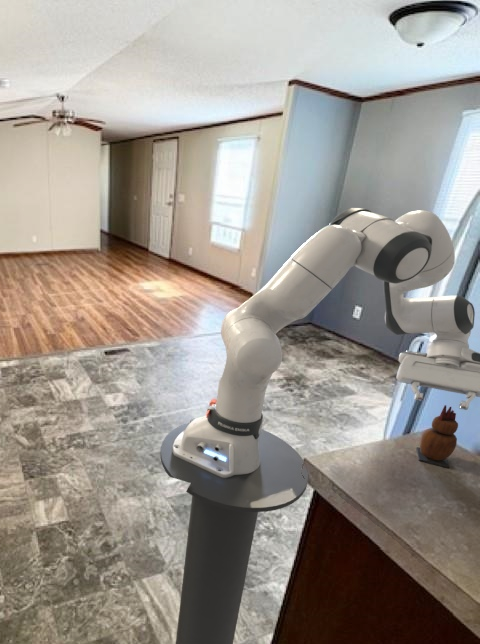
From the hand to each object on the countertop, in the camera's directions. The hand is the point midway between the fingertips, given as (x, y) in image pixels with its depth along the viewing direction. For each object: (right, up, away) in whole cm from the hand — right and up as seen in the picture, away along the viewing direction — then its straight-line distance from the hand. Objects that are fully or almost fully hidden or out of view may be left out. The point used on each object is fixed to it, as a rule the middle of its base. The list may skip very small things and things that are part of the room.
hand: (440, 404), depth 109 cm
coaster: (-4, -13, -2) cm, 14 cm away
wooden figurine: (-4, -13, -2) cm, 14 cm away
